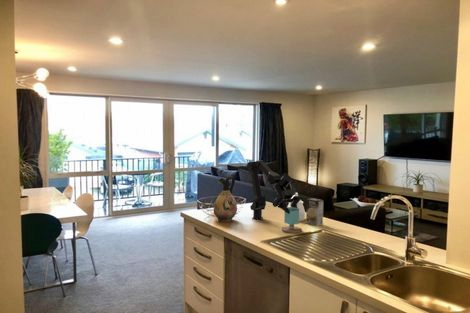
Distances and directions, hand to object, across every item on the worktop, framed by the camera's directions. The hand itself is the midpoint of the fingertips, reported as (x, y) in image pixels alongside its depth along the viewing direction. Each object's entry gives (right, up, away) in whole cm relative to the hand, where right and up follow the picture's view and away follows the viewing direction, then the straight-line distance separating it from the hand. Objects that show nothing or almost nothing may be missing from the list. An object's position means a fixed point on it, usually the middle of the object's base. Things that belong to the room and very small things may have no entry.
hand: (293, 212), depth 204 cm
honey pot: (+7, -9, +33) cm, 35 cm away
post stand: (-1, -11, +2) cm, 11 cm away
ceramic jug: (-40, -9, +25) cm, 48 cm away
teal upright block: (-1, -7, +2) cm, 7 cm away
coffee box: (+17, -10, +18) cm, 27 cm away
